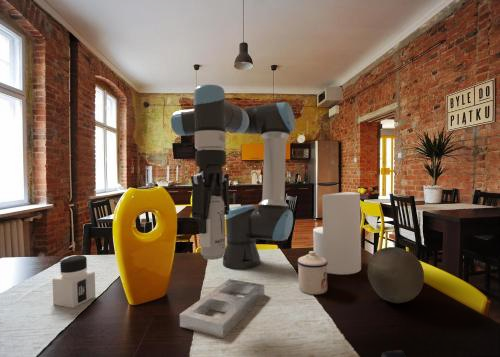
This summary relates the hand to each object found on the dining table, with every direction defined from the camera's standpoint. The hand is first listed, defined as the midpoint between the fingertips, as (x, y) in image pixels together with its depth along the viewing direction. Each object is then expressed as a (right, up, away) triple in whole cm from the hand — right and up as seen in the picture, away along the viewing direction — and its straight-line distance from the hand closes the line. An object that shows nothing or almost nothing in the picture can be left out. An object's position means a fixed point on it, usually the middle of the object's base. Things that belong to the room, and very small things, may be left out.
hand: (212, 243), depth 70 cm
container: (-42, -20, +13) cm, 49 cm away
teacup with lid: (+29, -18, +19) cm, 39 cm away
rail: (+3, -19, +6) cm, 20 cm away
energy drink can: (0, -4, 0) cm, 4 cm away
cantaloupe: (+49, -18, +7) cm, 53 cm away
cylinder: (+43, -18, +38) cm, 60 cm away
